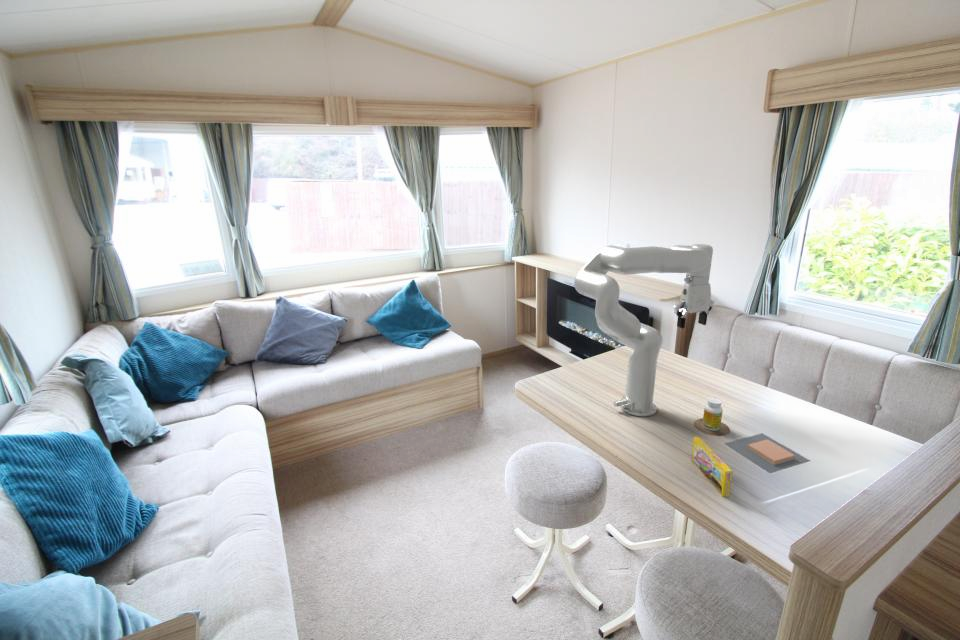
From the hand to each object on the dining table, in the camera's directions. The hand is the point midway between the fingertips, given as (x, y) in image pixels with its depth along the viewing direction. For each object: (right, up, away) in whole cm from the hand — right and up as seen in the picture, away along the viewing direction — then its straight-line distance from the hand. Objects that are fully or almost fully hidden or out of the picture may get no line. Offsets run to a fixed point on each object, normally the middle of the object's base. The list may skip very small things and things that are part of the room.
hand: (691, 325), depth 167 cm
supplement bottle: (0, -34, -14) cm, 37 cm away
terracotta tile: (+9, -36, -25) cm, 45 cm away
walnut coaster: (0, -34, -14) cm, 37 cm away
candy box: (-13, -43, -38) cm, 59 cm away
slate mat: (+10, -38, -28) cm, 48 cm away
